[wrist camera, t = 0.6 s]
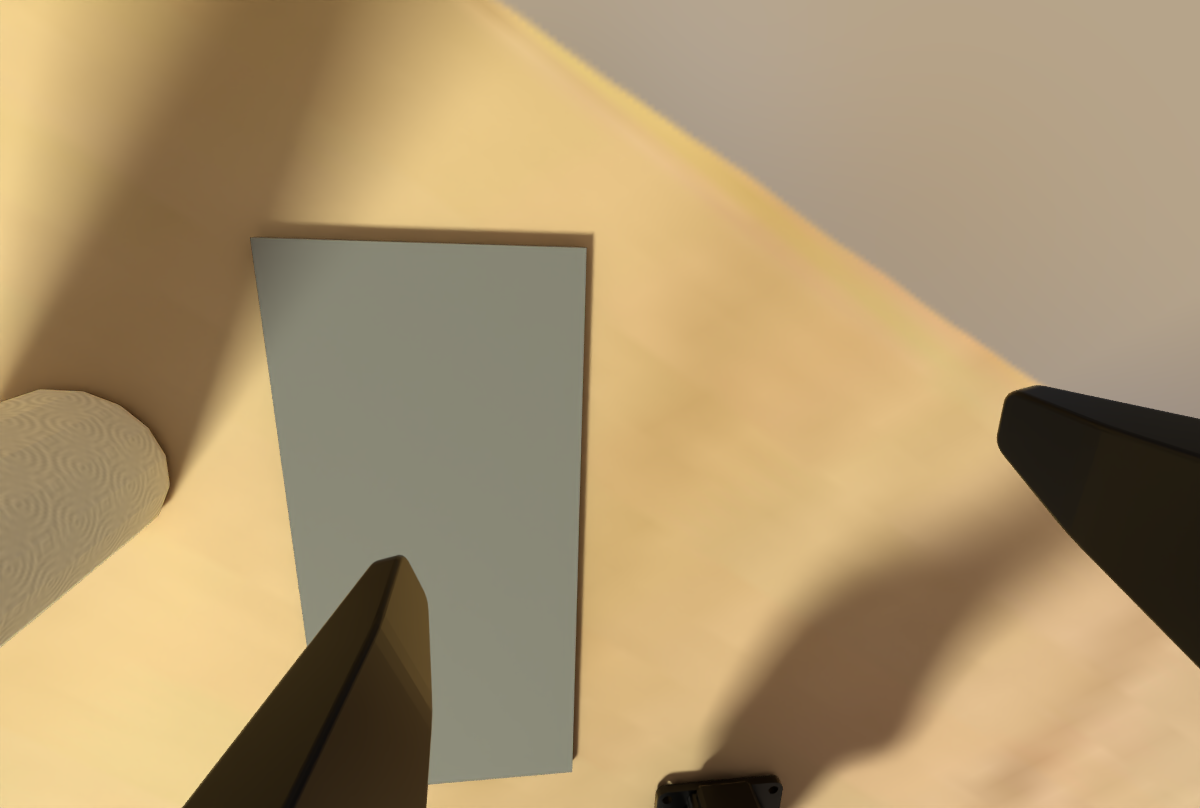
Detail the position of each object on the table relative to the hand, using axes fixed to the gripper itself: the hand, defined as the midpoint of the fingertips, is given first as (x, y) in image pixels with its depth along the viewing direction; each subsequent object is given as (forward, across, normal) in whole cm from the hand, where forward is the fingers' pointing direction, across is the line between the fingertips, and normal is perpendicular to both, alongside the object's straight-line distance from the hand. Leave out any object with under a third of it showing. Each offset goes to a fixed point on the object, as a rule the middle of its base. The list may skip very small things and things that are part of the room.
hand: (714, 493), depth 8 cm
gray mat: (+12, +8, +10) cm, 18 cm away
